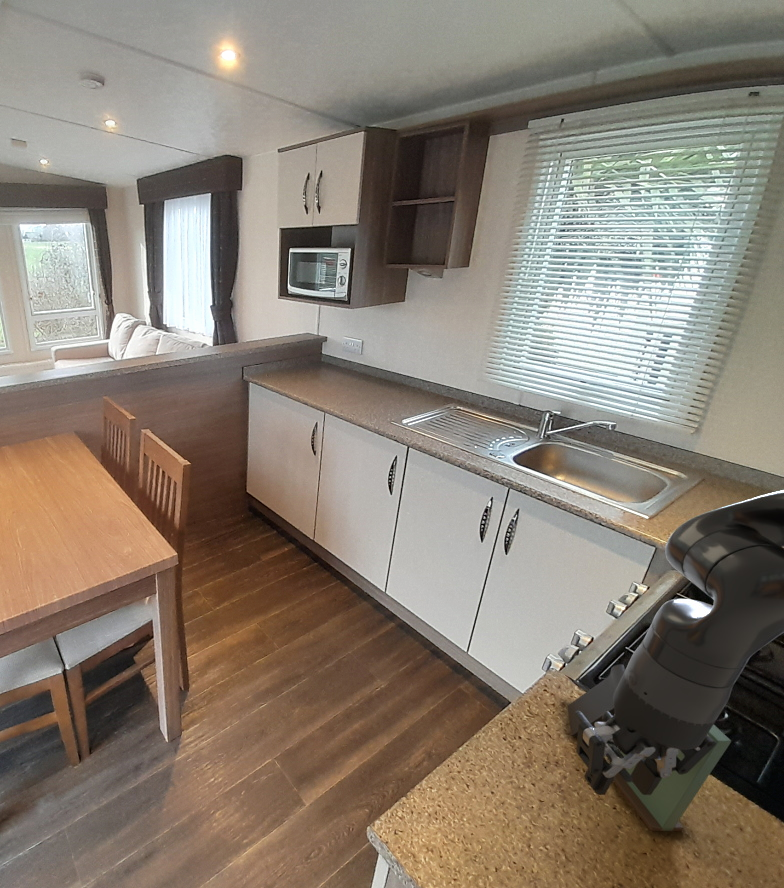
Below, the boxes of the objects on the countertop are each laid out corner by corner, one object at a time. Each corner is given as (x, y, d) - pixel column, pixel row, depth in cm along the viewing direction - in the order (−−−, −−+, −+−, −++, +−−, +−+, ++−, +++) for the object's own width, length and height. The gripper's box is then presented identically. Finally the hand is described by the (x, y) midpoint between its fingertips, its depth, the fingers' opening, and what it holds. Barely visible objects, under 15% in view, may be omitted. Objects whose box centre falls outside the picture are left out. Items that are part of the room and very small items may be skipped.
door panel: (680, 833, 61) (743, 741, 54) (584, 833, 62) (633, 741, 54) (629, 769, 69) (678, 680, 61) (543, 769, 69) (581, 681, 62)
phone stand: (569, 738, 73) (594, 682, 68) (566, 707, 78) (589, 653, 73) (646, 768, 69) (679, 711, 64) (638, 734, 73) (668, 679, 68)
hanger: (632, 784, 57) (650, 757, 55) (624, 783, 57) (642, 757, 55) (579, 713, 65) (592, 687, 63) (572, 713, 65) (585, 688, 63)
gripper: (632, 722, 48) (580, 821, 55) (776, 721, 48) (705, 821, 55) (578, 661, 55) (538, 756, 62) (703, 661, 55) (649, 756, 62)
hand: (617, 786), depth 59 cm, fingers open, 5 cm apart
